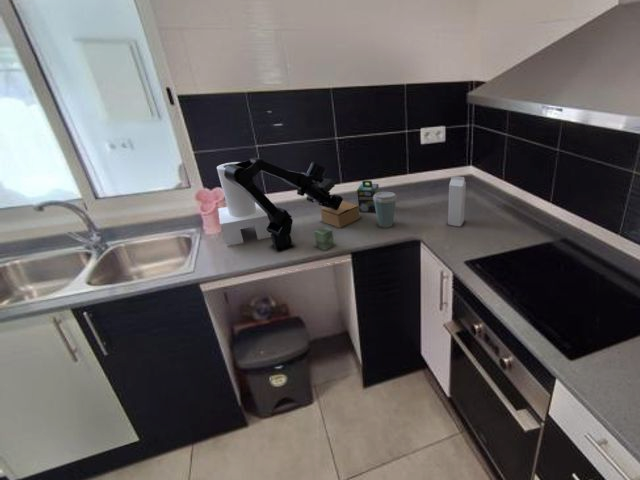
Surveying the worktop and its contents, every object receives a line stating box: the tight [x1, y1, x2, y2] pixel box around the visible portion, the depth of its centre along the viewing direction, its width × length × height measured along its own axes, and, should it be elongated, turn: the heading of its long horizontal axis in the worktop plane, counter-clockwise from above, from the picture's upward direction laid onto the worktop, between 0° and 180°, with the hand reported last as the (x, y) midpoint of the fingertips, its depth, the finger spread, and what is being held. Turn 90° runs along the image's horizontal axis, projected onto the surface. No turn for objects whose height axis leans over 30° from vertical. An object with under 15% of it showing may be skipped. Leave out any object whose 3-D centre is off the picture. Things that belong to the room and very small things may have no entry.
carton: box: [320, 200, 361, 229], centre depth 177 cm, size 13×12×7 cm
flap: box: [320, 206, 348, 215], centre depth 173 cm, size 6×12×1 cm, turn 53°
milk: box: [447, 175, 467, 227], centre depth 169 cm, size 6×6×22 cm
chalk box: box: [356, 180, 380, 213], centre depth 187 cm, size 9×9×15 cm
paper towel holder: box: [216, 161, 272, 247], centre depth 160 cm, size 19×19×30 cm
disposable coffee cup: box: [373, 191, 398, 228], centre depth 170 cm, size 11×11×15 cm
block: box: [314, 226, 335, 251], centre depth 154 cm, size 5×5×7 cm
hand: (335, 207), depth 173 cm, fingers closed, pressing on flap
